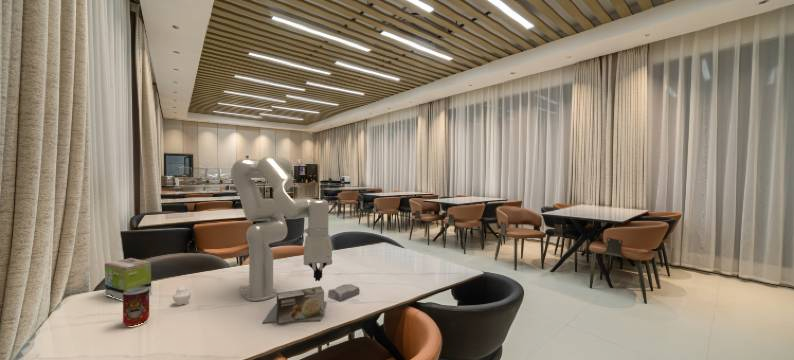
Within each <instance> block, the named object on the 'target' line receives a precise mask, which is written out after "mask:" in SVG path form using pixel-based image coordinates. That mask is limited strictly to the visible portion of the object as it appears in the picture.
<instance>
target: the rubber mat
mask: <svg viewBox="0 0 794 360" xmlns="http://www.w3.org/2000/svg"><path fill="white" fill-rule="evenodd" d="M326 305H327V301H325V300H324V310H325V309H326ZM322 317H323V315H320V316H315V317H310V318H305V319H300V320H295V321H290V322H285V323H286V324H287V323H308V322H311V323H312V322H313V323H314V322H315V323H316V322H321V321H322ZM285 323H284V324H285ZM262 324H278V321H277V302H275V304H274V305H273V307H272V308H271V310H270V311H269V313H268V314H267V315H266V317H265V318H264V319H263V321H262Z"/></svg>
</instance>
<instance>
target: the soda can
mask: <svg viewBox="0 0 794 360" xmlns="http://www.w3.org/2000/svg"><path fill="white" fill-rule="evenodd" d="M149 317H150V295H149V288H148V287H144V286H139V287H133V288H130V289H128V290H126V291H125V292H124V293H123V301H122V323H123V324H124V325H125V327H126V326H134V325H138V324H141V323H144V322H145V321H146V320H147V321H148V319H149Z"/></svg>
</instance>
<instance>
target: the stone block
mask: <svg viewBox="0 0 794 360" xmlns="http://www.w3.org/2000/svg"><path fill="white" fill-rule="evenodd" d="M360 291H361V290H360V287H359V286H357V285H354V284H352V283H350V284H349V283H348V284H342V285H338V286H337V287H336V288H331V289H329V290H328V292H327V295H328V296H327V297H328V298H329V299H331V300H335V301H338V302H344V301H346V300H349V299H351V298H353V297H355V296H358V294H359V293H360Z"/></svg>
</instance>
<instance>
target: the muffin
mask: <svg viewBox="0 0 794 360" xmlns="http://www.w3.org/2000/svg"><path fill="white" fill-rule="evenodd" d="M191 296H192V292H191V290H189V289H188V288H187V287H186V286H179V287H178V288H177V289H176V291H175V293H174V294H173V295H172V299H173V301H174V303H175V304H176V305H177V306H183V305H182V304H185V305H186V303H187V304H188V302H189V300H190V298H191Z"/></svg>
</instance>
